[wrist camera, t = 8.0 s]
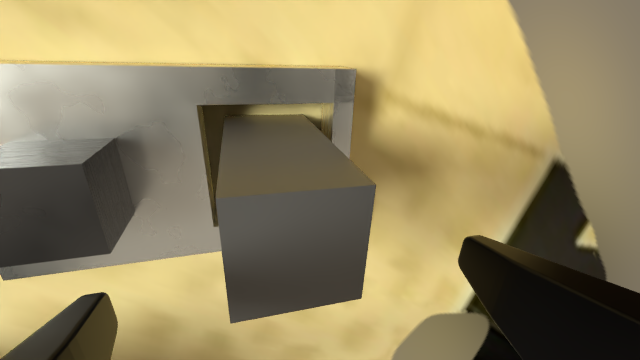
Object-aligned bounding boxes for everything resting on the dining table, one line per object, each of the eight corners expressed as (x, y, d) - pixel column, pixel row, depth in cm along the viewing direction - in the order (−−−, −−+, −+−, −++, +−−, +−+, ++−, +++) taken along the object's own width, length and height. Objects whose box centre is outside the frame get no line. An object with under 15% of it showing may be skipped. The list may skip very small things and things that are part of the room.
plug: (302, 182, 17) (361, 298, 9) (231, 187, 16) (230, 323, 8) (303, 114, 16) (375, 184, 8) (224, 115, 15) (215, 198, 7)
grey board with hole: (333, 216, 19) (364, 268, 14) (30, 252, 15) (-56, 340, 10) (341, 66, 15) (386, 74, 11) (-59, 59, 11) (-252, 68, 7)
